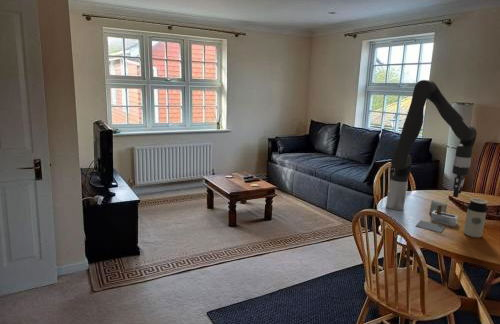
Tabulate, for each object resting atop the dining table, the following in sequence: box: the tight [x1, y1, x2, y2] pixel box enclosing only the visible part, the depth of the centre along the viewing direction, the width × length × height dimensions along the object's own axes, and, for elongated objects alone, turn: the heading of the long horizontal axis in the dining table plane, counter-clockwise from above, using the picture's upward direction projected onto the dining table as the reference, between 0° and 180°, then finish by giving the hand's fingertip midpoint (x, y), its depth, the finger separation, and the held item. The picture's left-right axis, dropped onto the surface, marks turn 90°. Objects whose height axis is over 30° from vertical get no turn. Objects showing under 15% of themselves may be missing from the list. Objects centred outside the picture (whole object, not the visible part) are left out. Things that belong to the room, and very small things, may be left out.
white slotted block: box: [429, 210, 459, 228], centre depth 195 cm, size 12×6×4 cm, turn 52°
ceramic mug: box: [428, 199, 448, 214], centre depth 208 cm, size 11×8×8 cm
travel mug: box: [463, 197, 489, 238], centre depth 179 cm, size 8×8×18 cm
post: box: [437, 205, 442, 214], centre depth 197 cm, size 2×2×9 cm
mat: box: [415, 219, 446, 234], centre depth 189 cm, size 12×10×1 cm
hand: (456, 195), depth 190 cm, fingers open, 8 cm apart
